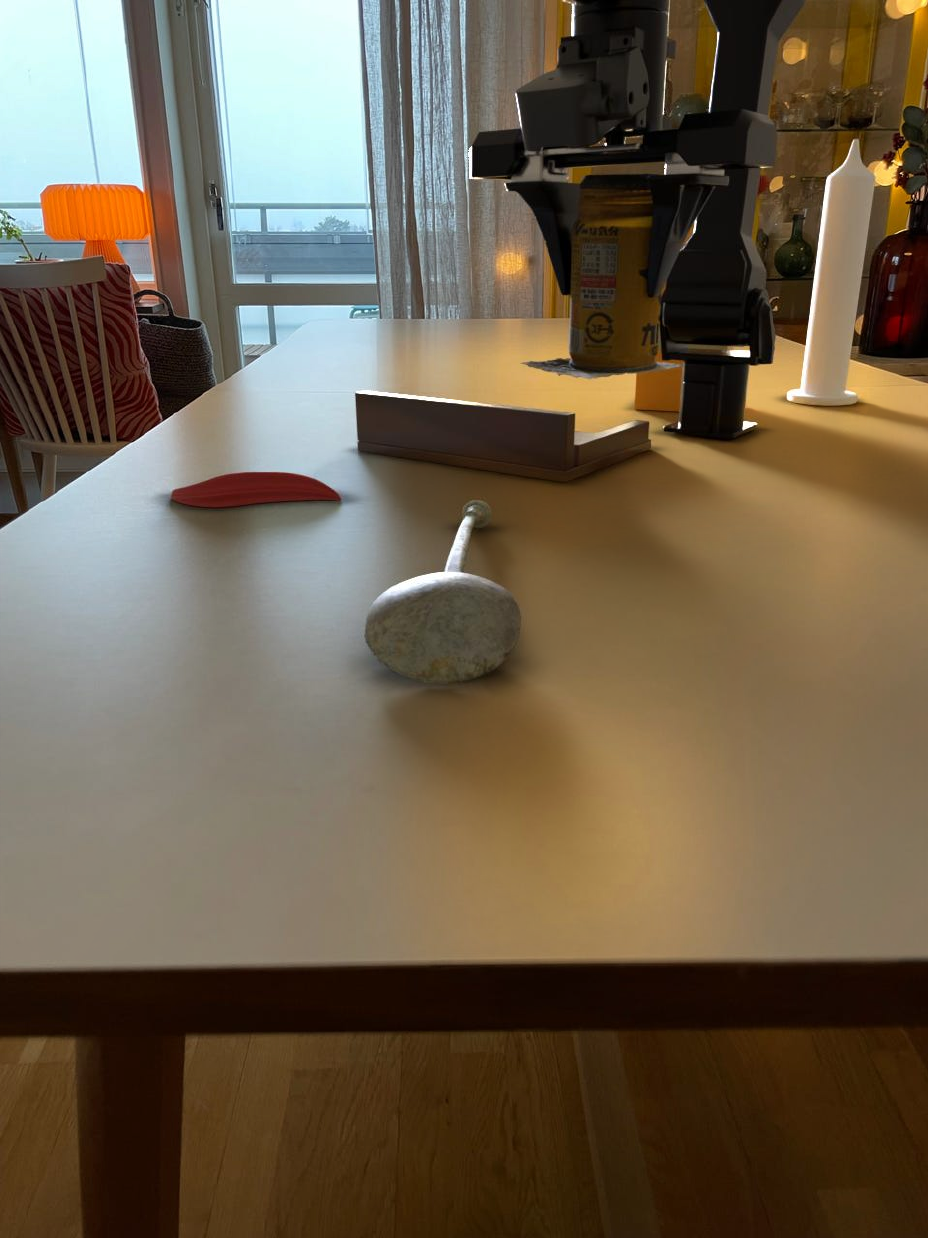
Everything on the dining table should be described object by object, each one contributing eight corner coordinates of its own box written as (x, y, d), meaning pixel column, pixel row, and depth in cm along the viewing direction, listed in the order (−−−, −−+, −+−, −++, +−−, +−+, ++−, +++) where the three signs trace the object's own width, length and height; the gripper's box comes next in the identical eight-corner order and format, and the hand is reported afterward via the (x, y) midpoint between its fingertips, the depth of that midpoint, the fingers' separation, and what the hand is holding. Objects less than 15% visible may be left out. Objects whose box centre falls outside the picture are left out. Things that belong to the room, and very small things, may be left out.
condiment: (684, 368, 63) (699, 171, 58) (589, 382, 59) (597, 171, 54) (611, 355, 69) (619, 175, 64) (519, 367, 65) (520, 175, 60)
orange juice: (721, 413, 93) (742, 192, 85) (633, 409, 96) (645, 195, 88) (729, 401, 100) (749, 196, 92) (646, 398, 103) (659, 198, 95)
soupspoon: (349, 695, 37) (513, 708, 37) (347, 618, 36) (518, 630, 35) (425, 522, 57) (532, 529, 57) (426, 468, 56) (536, 474, 55)
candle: (867, 405, 97) (908, 134, 87) (798, 406, 97) (832, 135, 87) (842, 395, 103) (878, 141, 94) (778, 395, 103) (807, 142, 94)
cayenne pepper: (154, 504, 62) (151, 476, 62) (187, 487, 67) (184, 461, 66) (325, 512, 60) (324, 483, 59) (348, 494, 64) (346, 467, 64)
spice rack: (457, 425, 88) (456, 373, 87) (651, 449, 77) (654, 390, 76) (357, 450, 78) (354, 392, 76) (565, 482, 67) (567, 414, 65)
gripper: (413, 19, 55) (422, 300, 61) (721, -34, 45) (695, 309, 51) (515, 45, 63) (514, 290, 69) (793, 5, 53) (764, 296, 59)
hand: (608, 295), depth 62 cm, fingers closed on condiment, 6 cm apart
